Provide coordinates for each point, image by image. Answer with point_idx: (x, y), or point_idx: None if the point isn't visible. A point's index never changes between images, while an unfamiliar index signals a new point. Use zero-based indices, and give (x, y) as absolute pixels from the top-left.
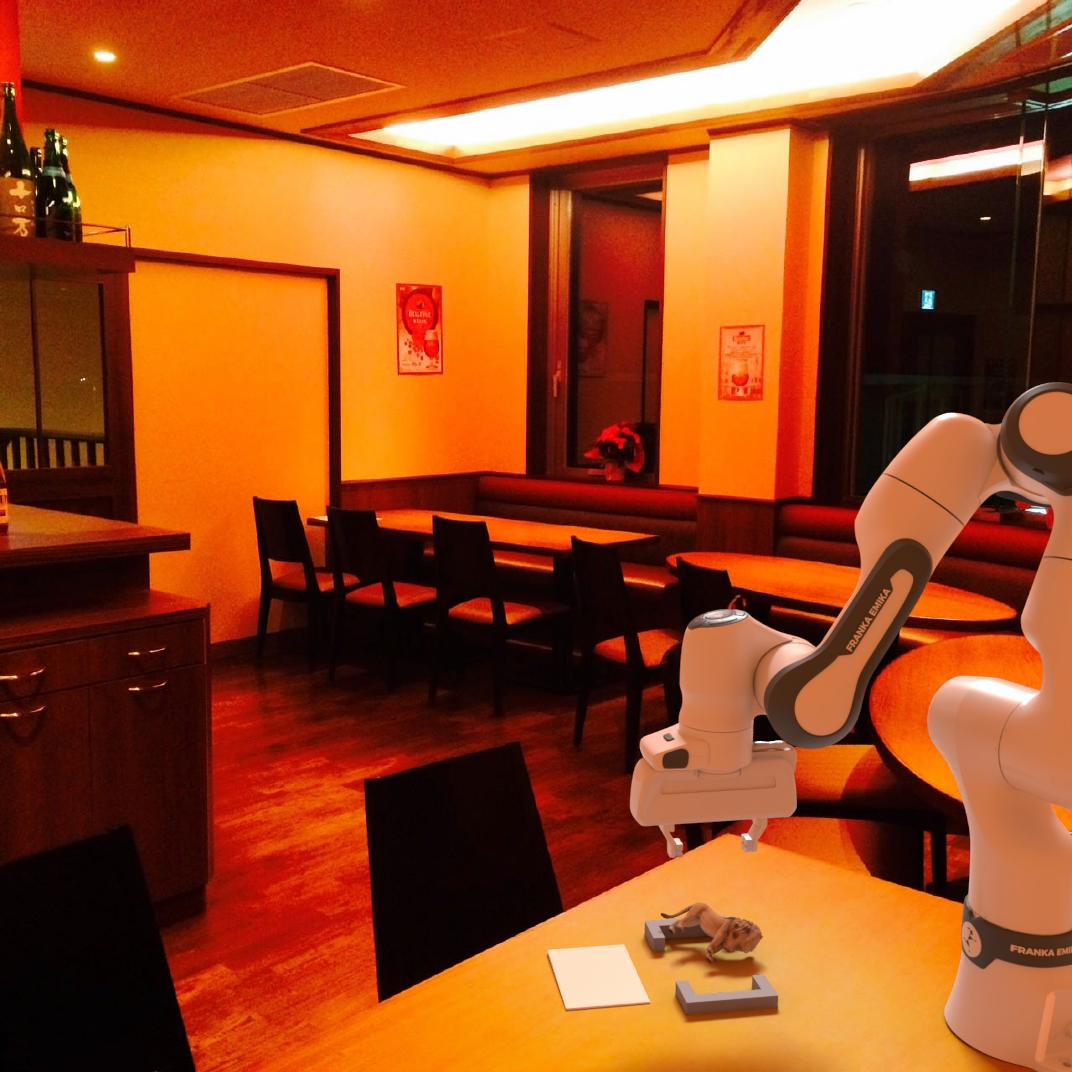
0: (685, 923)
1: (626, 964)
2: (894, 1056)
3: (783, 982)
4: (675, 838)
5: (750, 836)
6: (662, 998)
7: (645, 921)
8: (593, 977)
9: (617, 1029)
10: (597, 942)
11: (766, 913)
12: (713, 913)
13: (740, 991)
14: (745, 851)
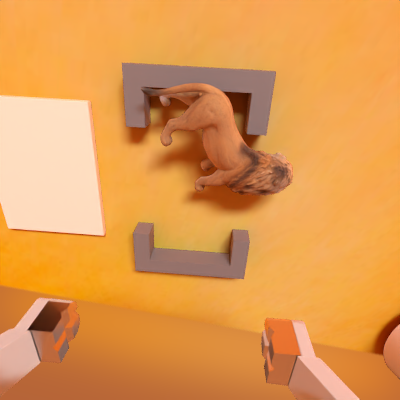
0: (187, 102)
1: (85, 157)
2: (311, 335)
3: (280, 221)
4: (41, 331)
5: (292, 374)
6: (123, 221)
7: (122, 65)
8: (38, 178)
9: (66, 257)
10: (50, 71)
11: (382, 21)
12: (225, 144)
13: (204, 264)
14: (261, 343)
